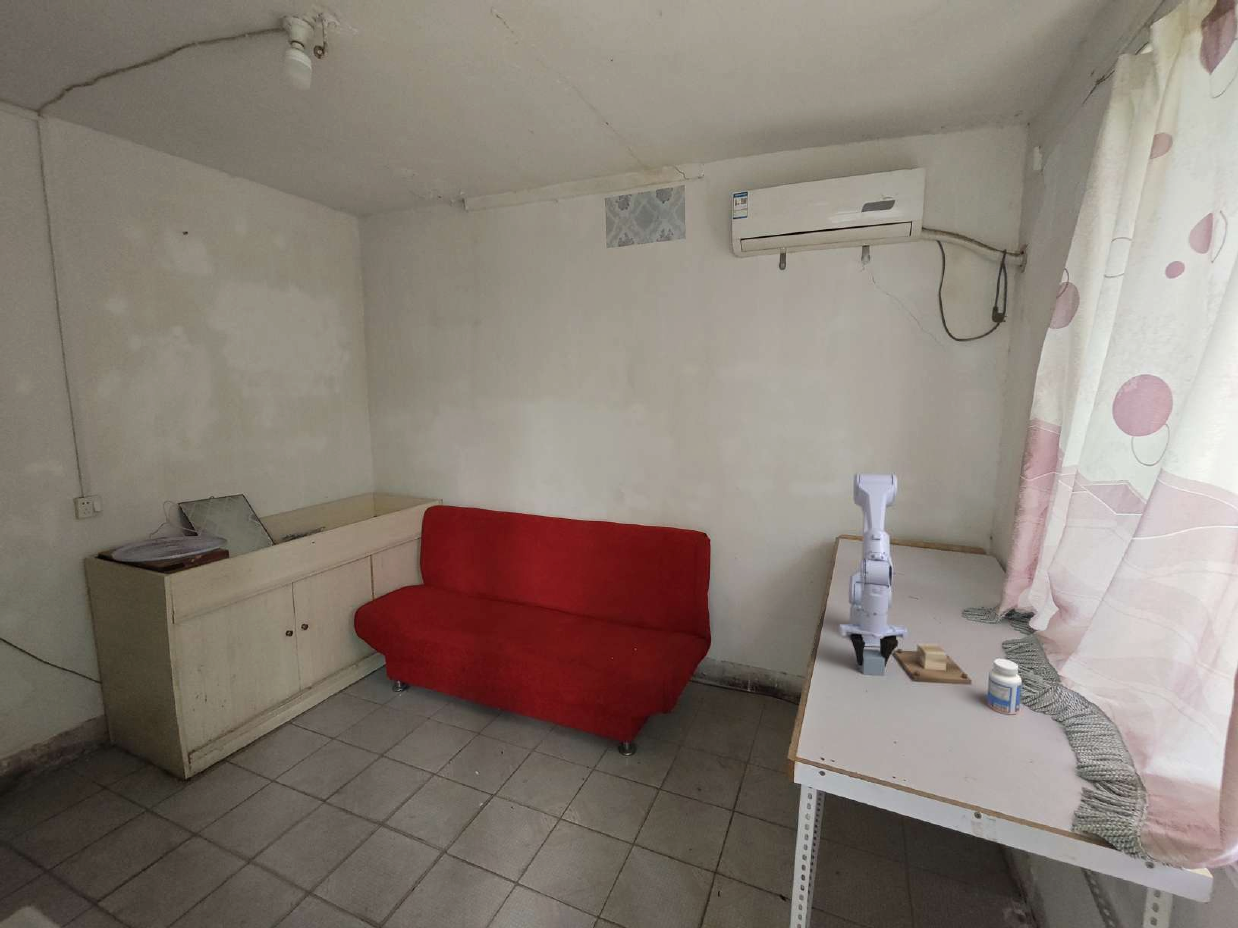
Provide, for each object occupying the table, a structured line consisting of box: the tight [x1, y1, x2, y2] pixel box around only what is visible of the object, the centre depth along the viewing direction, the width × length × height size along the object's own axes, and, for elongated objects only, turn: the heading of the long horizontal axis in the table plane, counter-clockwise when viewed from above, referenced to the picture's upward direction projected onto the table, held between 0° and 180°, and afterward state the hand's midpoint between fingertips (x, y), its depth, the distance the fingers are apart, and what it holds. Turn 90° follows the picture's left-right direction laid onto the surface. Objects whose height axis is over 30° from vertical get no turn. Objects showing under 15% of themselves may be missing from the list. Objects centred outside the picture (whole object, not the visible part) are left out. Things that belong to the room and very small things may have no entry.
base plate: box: [892, 648, 973, 685], centre depth 121 cm, size 12×12×2 cm
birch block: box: [916, 643, 948, 670], centre depth 121 cm, size 4×4×4 cm
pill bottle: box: [986, 658, 1023, 715], centre depth 106 cm, size 6×5×10 cm
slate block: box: [857, 648, 886, 677], centre depth 121 cm, size 4×4×4 cm
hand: (870, 664), depth 121 cm, fingers closed on slate block, 4 cm apart
